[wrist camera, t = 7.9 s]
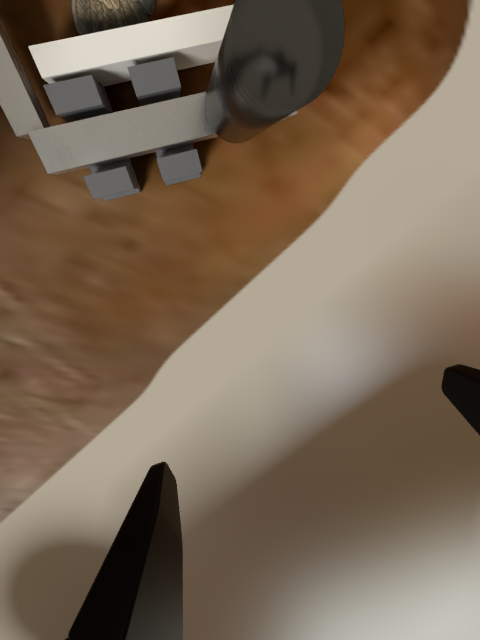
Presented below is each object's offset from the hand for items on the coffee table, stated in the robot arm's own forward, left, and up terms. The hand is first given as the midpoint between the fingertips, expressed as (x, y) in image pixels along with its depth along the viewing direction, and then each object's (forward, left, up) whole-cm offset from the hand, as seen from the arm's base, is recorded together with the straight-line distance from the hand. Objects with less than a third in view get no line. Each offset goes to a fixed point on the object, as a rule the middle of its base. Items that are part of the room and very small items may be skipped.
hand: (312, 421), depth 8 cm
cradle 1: (-5, +9, -13) cm, 17 cm away
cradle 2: (-1, +9, -13) cm, 16 cm away
